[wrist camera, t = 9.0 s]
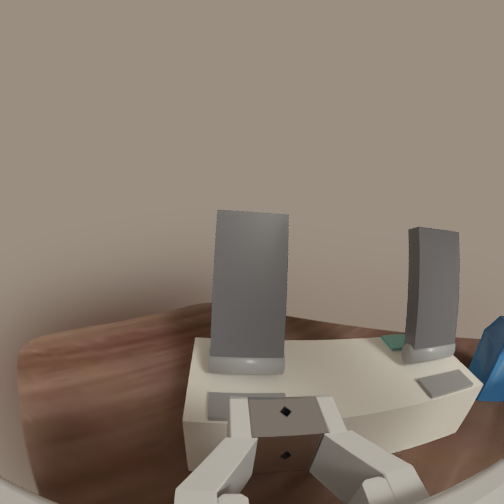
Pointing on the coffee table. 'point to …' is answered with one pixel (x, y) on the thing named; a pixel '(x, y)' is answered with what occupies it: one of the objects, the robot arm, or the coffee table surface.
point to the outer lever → (249, 293)
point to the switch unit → (339, 392)
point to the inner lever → (431, 295)
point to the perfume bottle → (490, 362)
